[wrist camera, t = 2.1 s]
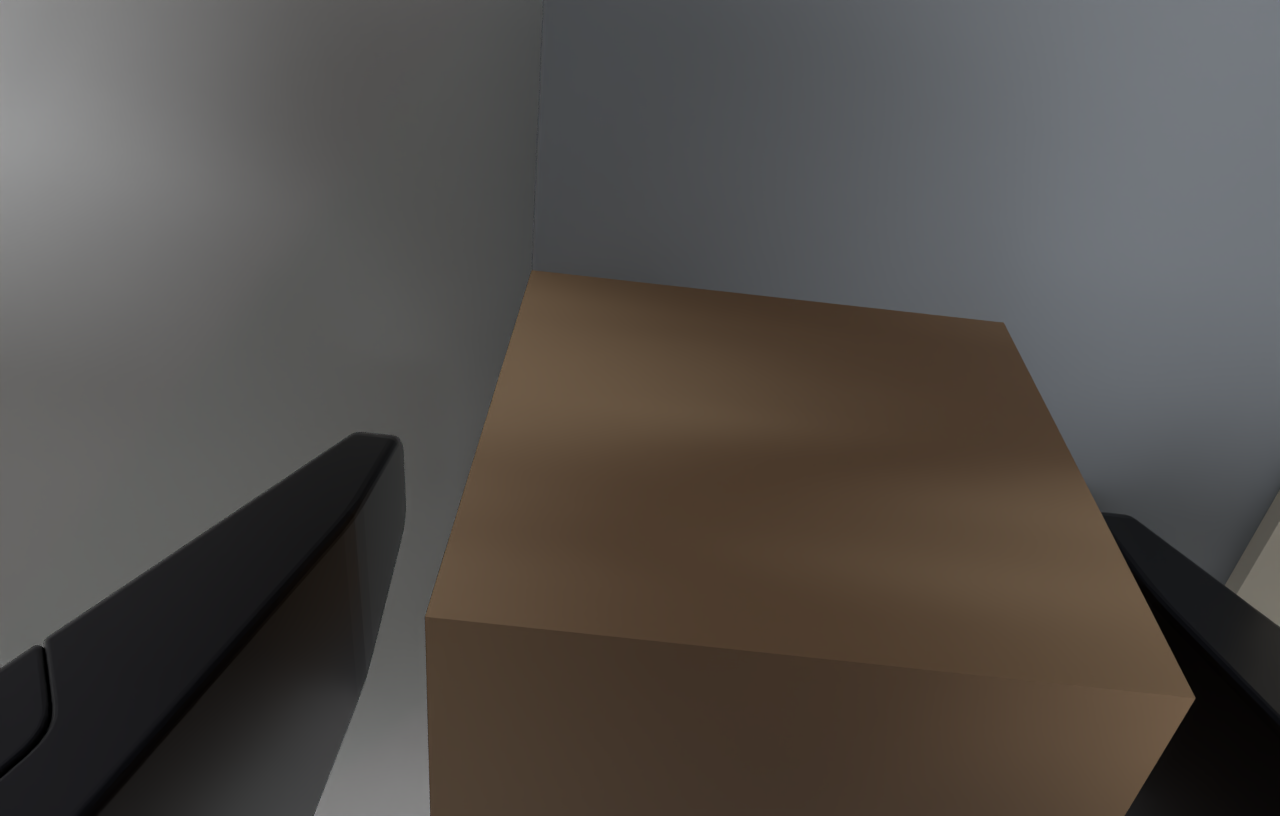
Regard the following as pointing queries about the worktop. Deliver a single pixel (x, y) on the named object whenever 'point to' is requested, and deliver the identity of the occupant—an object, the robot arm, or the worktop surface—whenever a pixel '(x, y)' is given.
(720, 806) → the block
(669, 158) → the board
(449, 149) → the worktop surface
